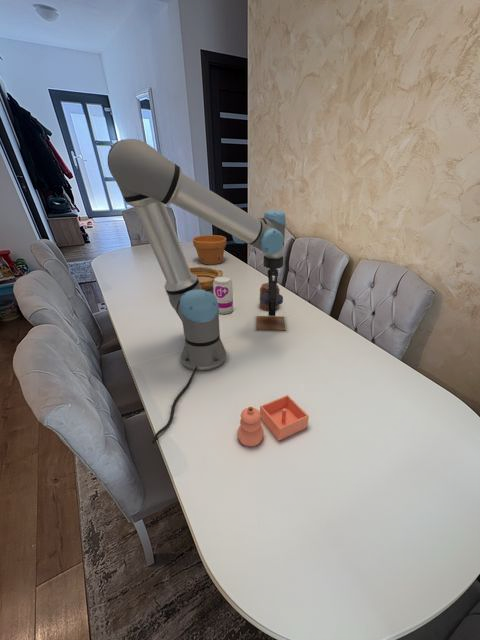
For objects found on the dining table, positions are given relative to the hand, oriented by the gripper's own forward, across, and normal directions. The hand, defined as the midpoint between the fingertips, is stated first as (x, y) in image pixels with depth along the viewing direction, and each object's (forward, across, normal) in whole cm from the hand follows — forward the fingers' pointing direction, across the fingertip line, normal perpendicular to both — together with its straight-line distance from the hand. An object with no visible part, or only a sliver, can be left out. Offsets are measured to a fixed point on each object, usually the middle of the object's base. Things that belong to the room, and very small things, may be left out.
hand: (271, 310), depth 127 cm
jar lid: (-6, 0, 0) cm, 6 cm away
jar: (+6, -17, 0) cm, 18 cm away
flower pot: (+7, -86, -37) cm, 94 cm away
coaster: (+6, 0, 0) cm, 6 cm away
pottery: (+6, +59, -2) cm, 59 cm away
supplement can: (+6, -12, -21) cm, 25 cm away
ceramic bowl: (+6, -38, -37) cm, 54 cm away
